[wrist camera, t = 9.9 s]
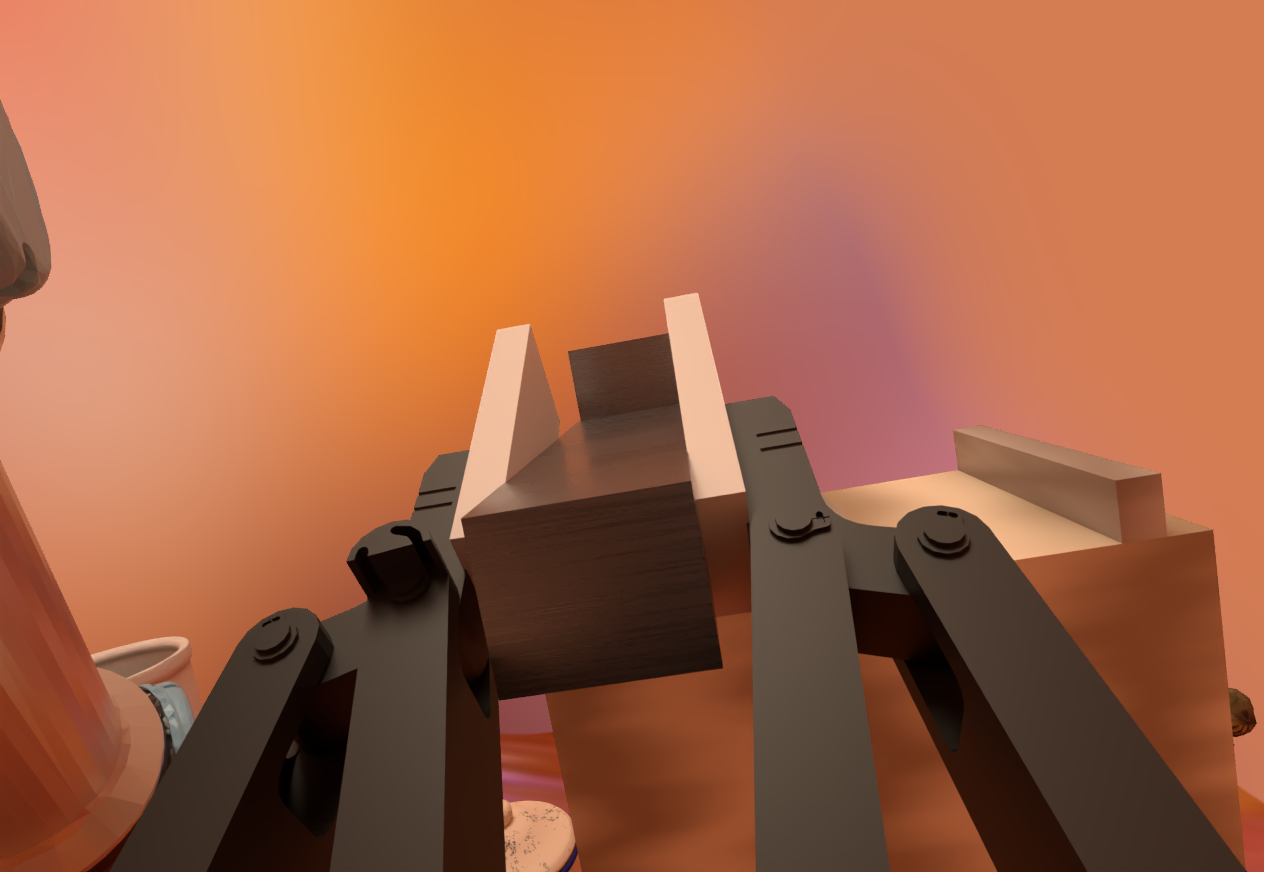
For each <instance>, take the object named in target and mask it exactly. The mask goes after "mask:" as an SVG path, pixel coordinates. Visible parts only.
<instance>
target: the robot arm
mask: <svg viewBox="0 0 1264 872" xmlns="http://www.w3.org/2000/svg"><path fill="white" fill-rule="evenodd" d="M50 270H51V253H50V244H49V239H48V234H47V230H46V226H45V223H44V220H43V217H42V213H41V209H40V205H39V201H38V197H37V193H36V190H35V187H34V184H33V181H32V178H31V175H30V172H29V170H28V167H27V164H26V161H25V158H24V155H23V152H22V150H21V147H20V145H19V143H18V141H17V138H16V136H15V135H14V132H13V130H12V128H11V125H10V122H9V119H8V117H7V114H6V112H5V110H4V108H3V105H2V103H1V100H0V350H1V347H2V344H3V341H4V338H5V321H6V316H5V311H4V307H3V306H5V305H6V304H7V303H9V302H10V301H12V299H17V298H22V297H26V296H29V295H31V294H34V293H35V292H36V291H38V290H39V289H40V288H41V287H42V286H43V285H44V284H45V282H46V281H47V279H48V276H49V274H50ZM664 305H665V312H666V318H667V325H668V331H669V338H670V344H671V351H672V357H673V364H674V370H675V377H676V383H677V390H678V396H679V402H680V409H681V415H682V422H683V428H684V435H685V441H686V448H687V452H688V454H689V461H690V467H691V474H692V480H693V486H694V493H695V499H696V505H697V510H698V516H699V521H700V527H701V533H702V538H703V544H704V549H705V555H706V560H707V566H708V572H709V577H710V583H711V588H712V594H713V599H714V606H715V614H716V617H722V616H729V615H735V614H742V613H749V612H752V670H753V733H754V796H755V860H756V872H890V867H889V860H888V853H887V846H886V839H885V833H884V826H883V819H882V812H881V806H880V799H879V792H878V785H877V778H876V772H875V765H874V758H873V751H872V745H871V738H870V731H869V724H868V718H867V711H866V704H865V697H864V690H863V684H862V677H861V670H860V663H859V657H858V653H859V654H866V655H873V656H880V657H887V658H893V660H894V662H895V665H896V667H897V669H898V671H899V673H900V675H901V677H902V679H903V681H904V683H905V685H906V687H907V689H908V691H909V693H910V695H911V697H912V699H913V701H914V703H915V705H916V707H917V709H918V711H919V713H920V715H921V717H922V719H923V722H924V724H925V726H926V728H927V730H928V732H929V734H930V736H931V738H932V740H933V742H934V744H935V746H936V748H937V750H938V752H939V754H940V756H941V758H942V760H943V762H944V764H945V766H946V768H947V770H948V772H949V774H950V776H951V778H952V781H953V783H954V785H955V787H956V789H957V791H958V793H959V795H960V797H961V799H962V801H963V803H964V805H965V807H966V809H967V811H968V813H969V815H970V817H971V819H972V821H973V823H974V825H975V827H976V829H977V831H978V833H979V835H980V838H981V840H982V842H983V844H984V846H985V848H986V850H987V852H988V854H989V856H990V858H991V860H992V862H993V864H994V866H995V868H996V870H997V872H1247V871H1246V870H1245V868H1244V867H1243V866H1242V864H1241V863H1240V862H1239V860H1238V859H1237V858H1236V856H1235V855H1234V854H1233V852H1232V851H1231V850H1230V848H1229V847H1228V846H1227V844H1226V843H1225V842H1224V840H1223V839H1222V838H1221V836H1220V835H1219V834H1218V832H1217V831H1216V830H1215V828H1214V827H1213V826H1212V824H1211V823H1210V822H1209V820H1208V819H1207V818H1206V816H1205V815H1204V814H1203V812H1202V811H1201V810H1200V808H1199V807H1198V806H1197V804H1196V803H1195V802H1194V800H1193V799H1192V798H1191V796H1190V795H1189V794H1188V792H1187V791H1186V789H1185V788H1184V787H1183V785H1182V784H1181V783H1180V781H1179V780H1178V779H1177V777H1176V776H1175V775H1174V773H1173V772H1172V771H1171V769H1170V768H1169V767H1168V765H1167V764H1166V763H1165V761H1164V760H1163V759H1162V757H1161V756H1160V755H1159V753H1158V752H1157V751H1156V749H1155V748H1154V747H1153V745H1152V744H1151V743H1150V741H1149V740H1148V739H1147V737H1146V736H1145V735H1144V733H1143V732H1142V731H1141V729H1140V728H1139V727H1138V725H1137V724H1136V723H1135V721H1134V720H1133V719H1132V717H1131V716H1130V715H1129V713H1128V712H1127V711H1126V709H1125V708H1124V707H1123V705H1122V704H1121V703H1120V701H1119V700H1118V699H1117V697H1116V696H1115V695H1114V693H1113V692H1112V691H1111V689H1110V688H1109V687H1108V685H1107V684H1106V683H1105V681H1104V680H1103V679H1102V677H1101V676H1100V675H1099V673H1098V672H1097V671H1096V669H1095V668H1094V667H1093V665H1092V664H1091V663H1090V661H1089V660H1088V659H1087V657H1086V656H1085V655H1084V653H1083V652H1082V651H1081V649H1080V648H1079V647H1078V645H1077V644H1076V643H1075V641H1074V640H1073V639H1072V637H1071V636H1070V635H1069V633H1068V632H1067V631H1066V629H1065V628H1064V627H1063V625H1062V624H1061V623H1060V621H1059V620H1058V619H1057V617H1056V616H1055V615H1054V613H1053V612H1052V611H1051V609H1050V608H1049V607H1048V605H1047V604H1046V603H1045V601H1044V600H1043V599H1042V597H1041V596H1040V595H1039V593H1038V592H1037V591H1036V589H1035V588H1034V587H1033V585H1032V584H1031V583H1030V581H1029V580H1028V579H1027V577H1026V576H1025V575H1024V573H1023V572H1022V570H1021V569H1020V568H1019V566H1018V565H1017V564H1016V562H1015V561H1014V560H1013V558H1012V557H1011V556H1010V554H1009V553H1008V552H1007V550H1006V549H1005V548H1004V546H1003V545H1002V544H1001V542H1000V541H999V540H998V538H997V537H996V536H995V534H994V533H993V532H992V530H991V529H990V528H989V527H988V526H987V525H986V524H985V523H984V522H983V521H982V520H981V519H979V518H978V517H977V516H976V515H973V514H971V513H969V512H967V511H965V510H962V509H960V508H955V507H949V506H943V505H937V506H925V507H921V508H918V509H916V510H913V511H911V512H908V513H907V514H906V515H905V516H904V517H903V518H902V519H901V520H900V521H899V522H898V523H897V527H884V526H872V525H866V524H860V523H856V522H853V521H850V520H847V519H845V518H843V517H841V516H840V515H838V514H836V513H835V512H834V511H833V510H832V509H830V508H829V507H828V506H827V505H826V503H825V501H824V500H823V498H822V496H821V493H820V490H819V487H818V485H817V482H816V479H815V477H814V474H813V471H812V468H811V465H810V463H809V460H808V457H807V454H806V452H805V449H804V446H803V445H802V441H801V438H800V435H799V432H798V431H797V427H796V424H795V421H794V419H793V416H792V413H791V410H790V409H789V408H788V407H787V406H785V405H784V404H783V403H782V402H780V401H779V400H778V399H777V398H776V397H774V396H770V397H765V398H758V399H752V400H747V401H741V402H735V403H729V404H724V399H723V395H722V391H721V387H720V383H719V379H718V375H717V371H716V366H715V362H714V358H713V354H712V350H711V345H710V341H709V337H708V333H707V329H706V325H705V321H704V317H703V312H702V308H701V304H700V300H699V296H698V293H694V294H688V295H683V296H678V297H672V298H666V299H664ZM559 424H560V421H559V418H558V415H557V411H556V408H555V404H554V401H553V398H552V394H551V391H550V388H549V385H548V381H547V378H546V375H545V371H544V368H543V365H542V362H541V358H540V355H539V352H538V348H537V345H536V342H535V339H534V335H533V332H532V328H531V325H530V324H526V325H521V326H515V327H511V328H505V329H500V330H497V332H496V337H495V341H494V346H493V350H492V354H491V359H490V363H489V367H488V372H487V377H486V381H485V386H484V389H483V394H482V398H481V403H480V407H479V412H478V416H477V420H476V425H475V429H474V433H473V438H472V443H471V447H470V450H466V451H461V452H455V453H450V454H443V455H439V456H438V457H437V459H436V460H435V461H434V462H433V464H432V465H431V466H430V467H429V468H428V470H427V471H426V472H425V473H424V476H423V479H422V483H421V486H420V489H419V496H418V497H417V500H416V503H415V506H414V509H415V512H413V513H412V516H411V520H402V521H395V522H390V523H388V524H385V525H383V526H380V527H378V528H376V529H374V530H373V531H371V532H370V533H368V534H367V535H365V536H364V537H362V538H361V539H360V540H359V542H358V543H357V544H356V545H355V546H354V547H353V548H352V549H351V552H350V554H349V556H348V559H347V564H348V566H349V567H350V569H351V570H352V572H353V574H354V575H355V577H356V579H357V580H358V582H359V584H360V585H361V587H362V589H363V590H364V592H365V594H366V595H367V597H368V598H367V601H366V602H364V603H362V604H360V605H359V606H357V607H355V608H352V609H350V610H348V611H345V612H343V613H340V614H338V615H335V616H333V617H331V618H328V619H326V620H323V621H321V622H320V620H319V619H318V617H317V616H316V615H315V614H314V613H312V612H311V611H310V610H308V609H303V608H291V609H286V610H282V611H278V612H276V613H274V614H272V615H270V616H268V617H266V618H264V619H262V620H261V621H260V622H259V623H258V624H256V625H255V626H254V627H253V628H251V629H250V630H249V631H248V632H247V633H246V635H245V636H244V637H243V639H242V640H241V641H240V642H239V644H238V645H237V647H236V649H235V650H234V652H233V654H232V656H231V658H230V659H229V661H228V663H227V665H226V666H225V668H224V670H223V672H222V674H221V675H220V677H219V679H218V680H217V682H216V684H215V686H214V688H213V690H212V691H211V693H210V695H209V696H208V698H207V700H206V702H205V703H204V705H203V707H202V709H201V711H200V712H199V714H198V716H197V718H196V719H195V718H194V714H193V711H192V708H191V705H190V702H189V699H188V697H187V695H186V694H185V692H184V690H183V689H182V688H181V687H180V685H178V684H177V683H174V682H162V683H158V684H154V685H153V684H142V685H140V686H137V685H136V684H135V683H133V682H131V681H130V680H128V679H126V678H125V677H123V676H120V675H118V674H116V673H114V672H112V671H108V670H105V669H102V668H98V667H96V666H95V663H94V661H93V659H92V657H91V655H90V653H89V651H88V648H87V646H86V644H85V642H84V640H83V638H82V635H81V634H80V631H79V629H78V627H77V625H76V623H75V620H74V618H73V616H72V614H71V612H70V610H69V607H68V605H67V603H66V601H65V599H64V597H63V595H62V592H61V590H60V588H59V586H58V584H57V582H56V580H55V578H54V575H53V573H52V571H51V569H50V567H49V564H48V563H47V560H46V558H45V556H44V554H43V551H42V549H41V547H40V545H39V543H38V541H37V539H36V537H35V534H34V532H33V530H32V528H31V526H30V524H29V521H28V519H27V517H26V515H25V513H24V511H23V508H22V507H21V504H20V502H19V500H18V498H17V495H16V493H15V491H14V489H13V487H12V485H11V483H10V480H9V478H8V476H7V474H6V472H5V470H4V467H3V466H2V463H1V461H0V872H506V857H505V835H504V813H503V792H502V770H501V748H500V728H499V727H500V726H499V705H498V694H497V689H496V684H495V680H494V675H493V670H492V665H491V661H490V656H489V651H488V646H487V642H486V637H485V632H484V627H483V623H482V618H481V613H480V608H479V604H478V599H477V594H476V589H475V585H474V580H473V575H472V570H471V565H470V561H469V556H468V551H467V546H466V542H465V537H464V532H463V527H462V523H461V518H462V517H463V516H465V515H466V514H467V513H468V512H469V511H471V510H472V509H473V508H474V507H476V506H477V505H478V504H479V503H480V502H482V501H483V500H484V499H485V498H486V497H488V496H489V495H490V494H491V493H493V492H494V491H495V490H496V489H497V488H499V487H500V486H501V485H502V484H504V483H505V482H507V481H508V480H509V479H510V478H511V477H513V476H514V475H515V474H516V473H518V472H519V471H520V470H521V469H522V468H524V467H525V466H526V465H527V464H528V463H530V462H531V461H532V460H533V459H534V458H536V457H537V456H538V455H539V454H541V453H542V452H543V451H544V450H545V449H547V448H548V447H549V446H550V445H551V444H553V443H554V442H555V441H556V440H557V439H558V436H559Z"/></svg>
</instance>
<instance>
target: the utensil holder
mask: <svg viewBox="0 0 1264 872" xmlns="http://www.w3.org/2000/svg"><path fill="white" fill-rule="evenodd" d="M191 655H192V650H191V646H190V643H189V640H188V639H186V638H184V637H164V638H157V639H152V640H146V641H141V642H137V643H133V644H129V645H124V646H121V647H117V648H113V649H110V650H106V651H103V652H99V653H96V654H93V655H91V657H92V659H93V661H94V663H95V666H96V667H98V668H102V669H105V670H108V671H112V672H114V673H116V674H118V675H120V676H123V677H125V678H126V679H128V680H130V681H131V682H133V683H135V684H136V685H137V686H140V685H142V684H153V685H154V684H158V683H162V682H174V683H177V684H178V685H180V687H181V688H182V689H183V690H184V692H185V694H186V695H187V697H188V699H189V702H190V705H191V708H192V711H193V714H194V718H195V719H196V718H197V716H198V714H199V712H200V711H201V709H202V705H201V701H200V697H199V693H198V688H197V685H196V680H195V676H194V672H193V669H192V665H191V661H190V659H191Z"/></svg>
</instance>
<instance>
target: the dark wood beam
mask: <svg viewBox="0 0 1264 872" xmlns="http://www.w3.org/2000/svg"><path fill="white" fill-rule="evenodd" d="M568 354H569V360H570V365H571V370H572V376H573V381H574V386H575V392H576V397H577V402H578V408H579V413H580V418H581V420H580V421H579V422H578V423H577V424H575V425H574V426H573V427H572V428H570V429H569V430H568V431H567V432H566V433H564V434H563V435H562V436H561V437H559V438H558V439H557V440H556V441H555V442H554V443H553V444H551V445H550V446H549V447H548V448H547V449H545V450H544V451H543V452H542V453H541V454H539V455H538V456H537V457H536V458H534V459H533V460H532V461H531V462H530V463H528V464H527V465H526V466H525V467H524V468H522V469H521V470H520V471H519V472H518V473H516V474H515V475H514V476H513V477H511V478H510V479H509V480H508V481H507V482H505V483H504V484H502V485H501V486H500V487H499V488H497V489H496V490H495V491H494V492H493V493H491V494H490V495H489V496H488V497H486V498H485V499H484V500H483V501H482V502H480V503H479V504H478V505H477V506H476V507H474V508H473V509H472V510H471V511H469V512H468V513H467V514H466V515H465V516H463V517H462V518H461V523H462V527H463V532H464V537H465V542H466V546H467V551H468V556H469V561H470V565H471V570H472V575H473V580H474V585H475V589H476V594H477V599H478V604H479V608H480V613H481V618H482V623H483V627H484V632H485V637H486V642H487V646H488V651H489V656H490V661H491V665H492V670H493V675H494V680H495V684H496V689H497V694H498V699H499V700H506V699H513V698H519V697H526V696H534V695H540V694H548V693H555V692H562V691H569V690H576V689H583V688H590V687H597V686H604V685H611V684H618V683H625V682H632V681H639V680H646V679H653V678H660V677H667V676H674V675H681V674H688V673H695V672H702V671H709V670H716V669H723V663H722V656H721V649H720V642H719V635H718V628H717V621H716V614H715V606H714V599H713V594H712V588H711V583H710V577H709V572H708V566H707V560H706V555H705V549H704V544H703V538H702V533H701V527H700V521H699V516H698V510H697V505H696V499H695V493H694V486H693V480H692V474H691V467H690V461H689V454H688V452H687V448H686V441H685V435H684V428H683V422H682V415H681V409H680V402H679V396H678V390H677V383H676V377H675V370H674V364H673V357H672V351H671V344H670V338H669V333H668V334H662V335H657V336H652V337H646V338H640V339H635V340H630V341H624V342H618V343H613V344H607V345H602V346H596V347H590V348H585V349H579V350H574V351H568Z"/></svg>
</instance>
